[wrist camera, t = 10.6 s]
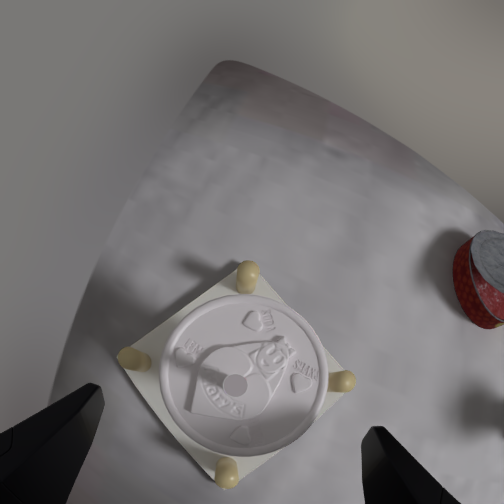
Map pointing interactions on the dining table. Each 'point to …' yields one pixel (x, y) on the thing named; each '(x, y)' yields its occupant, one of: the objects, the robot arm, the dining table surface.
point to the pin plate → (147, 382)
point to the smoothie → (243, 375)
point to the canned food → (481, 278)
